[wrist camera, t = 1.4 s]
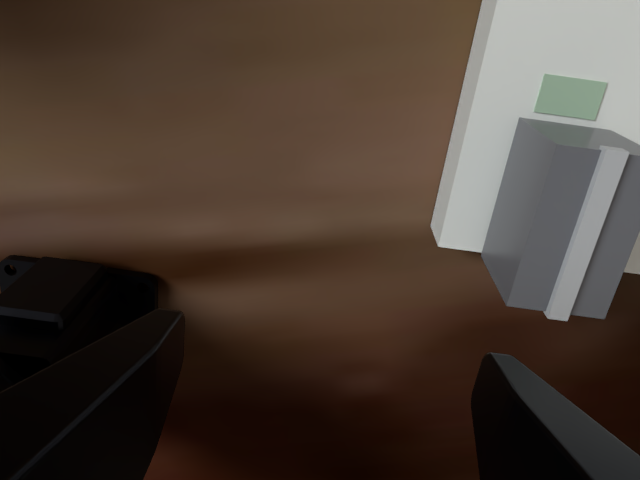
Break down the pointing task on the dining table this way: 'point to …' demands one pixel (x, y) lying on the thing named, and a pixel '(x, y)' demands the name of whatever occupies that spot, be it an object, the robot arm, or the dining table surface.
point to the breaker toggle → (564, 219)
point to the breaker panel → (535, 97)
